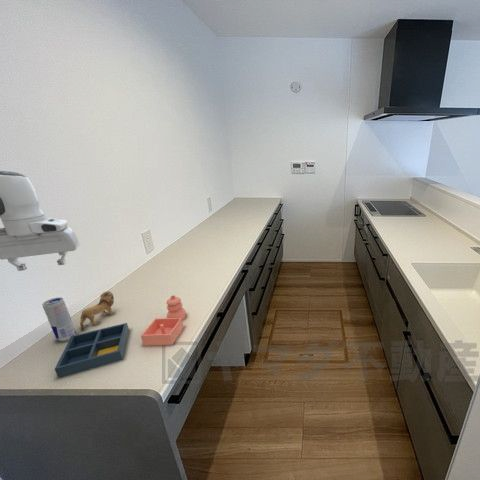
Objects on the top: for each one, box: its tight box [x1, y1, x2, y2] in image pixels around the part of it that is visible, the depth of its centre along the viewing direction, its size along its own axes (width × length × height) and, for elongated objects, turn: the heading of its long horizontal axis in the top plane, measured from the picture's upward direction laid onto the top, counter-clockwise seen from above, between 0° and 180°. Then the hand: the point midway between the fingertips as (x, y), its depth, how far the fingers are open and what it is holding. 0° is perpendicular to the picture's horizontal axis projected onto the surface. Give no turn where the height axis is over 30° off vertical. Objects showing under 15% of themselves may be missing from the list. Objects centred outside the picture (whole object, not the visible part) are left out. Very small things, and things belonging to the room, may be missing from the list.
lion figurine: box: [79, 290, 115, 332], centre depth 100 cm, size 15×5×9 cm, turn 175°
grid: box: [54, 322, 130, 379], centre depth 85 cm, size 15×15×4 cm
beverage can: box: [41, 297, 77, 342], centre depth 89 cm, size 5×5×15 cm
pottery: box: [140, 294, 187, 346], centre depth 96 cm, size 18×10×10 cm, turn 3°
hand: (43, 267), depth 84 cm, fingers open, 8 cm apart
